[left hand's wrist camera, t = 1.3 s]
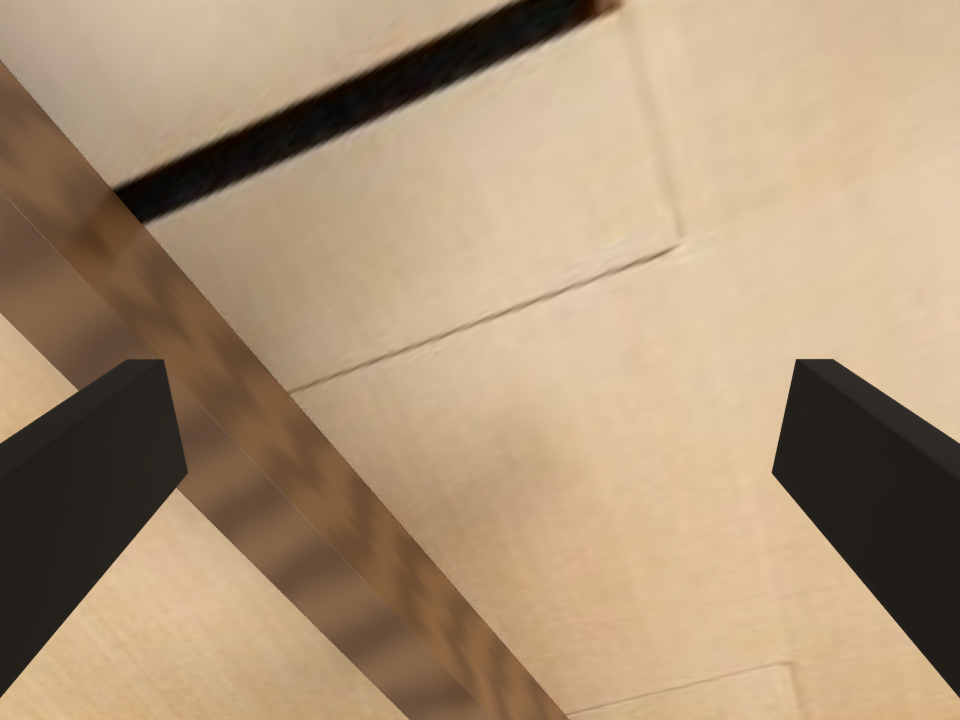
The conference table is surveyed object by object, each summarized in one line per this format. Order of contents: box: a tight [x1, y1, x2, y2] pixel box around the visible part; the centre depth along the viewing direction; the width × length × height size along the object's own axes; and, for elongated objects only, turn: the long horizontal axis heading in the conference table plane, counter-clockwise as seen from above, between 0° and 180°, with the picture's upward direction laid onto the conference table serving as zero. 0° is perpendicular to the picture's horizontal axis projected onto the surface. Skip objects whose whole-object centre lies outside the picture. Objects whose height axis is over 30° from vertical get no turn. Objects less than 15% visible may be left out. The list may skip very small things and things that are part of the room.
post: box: [0, 61, 569, 720], centre depth 35 cm, size 84×5×8 cm, turn 33°
